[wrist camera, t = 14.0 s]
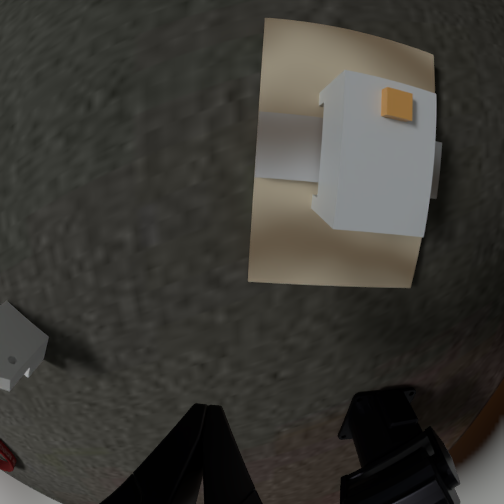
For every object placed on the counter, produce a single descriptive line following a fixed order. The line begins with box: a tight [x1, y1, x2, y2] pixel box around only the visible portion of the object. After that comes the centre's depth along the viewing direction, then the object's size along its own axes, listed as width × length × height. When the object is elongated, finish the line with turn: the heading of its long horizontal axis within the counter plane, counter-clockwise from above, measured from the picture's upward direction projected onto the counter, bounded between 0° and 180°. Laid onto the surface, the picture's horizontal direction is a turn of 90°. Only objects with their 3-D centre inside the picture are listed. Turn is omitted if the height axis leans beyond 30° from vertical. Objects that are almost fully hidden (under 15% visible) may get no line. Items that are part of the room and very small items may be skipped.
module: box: [311, 70, 436, 237], centre depth 13 cm, size 7×4×6 cm
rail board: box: [248, 18, 442, 288], centre depth 16 cm, size 16×11×2 cm
